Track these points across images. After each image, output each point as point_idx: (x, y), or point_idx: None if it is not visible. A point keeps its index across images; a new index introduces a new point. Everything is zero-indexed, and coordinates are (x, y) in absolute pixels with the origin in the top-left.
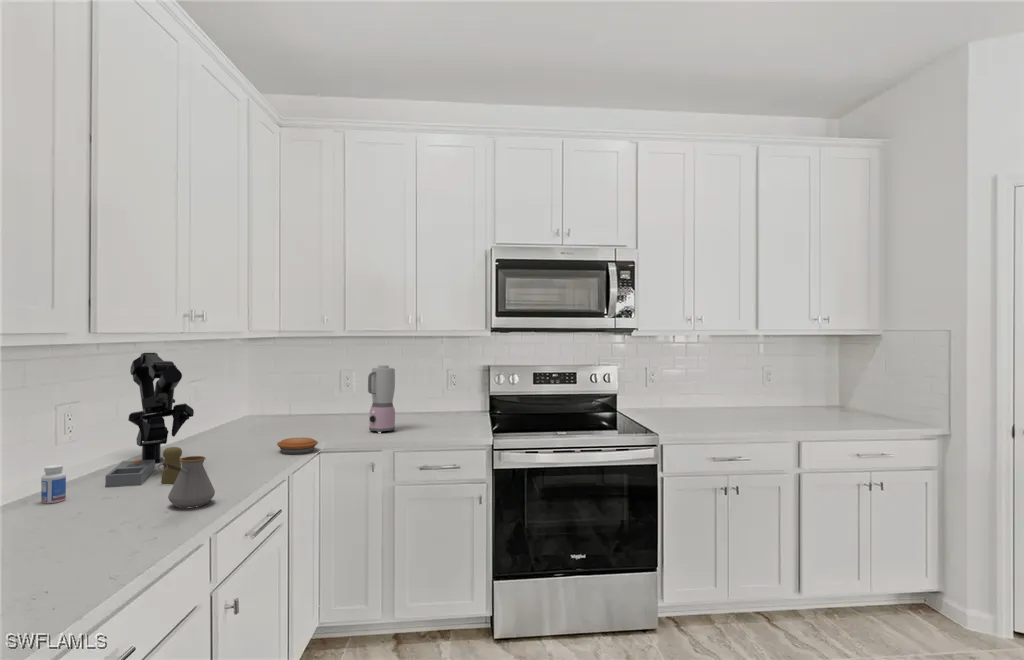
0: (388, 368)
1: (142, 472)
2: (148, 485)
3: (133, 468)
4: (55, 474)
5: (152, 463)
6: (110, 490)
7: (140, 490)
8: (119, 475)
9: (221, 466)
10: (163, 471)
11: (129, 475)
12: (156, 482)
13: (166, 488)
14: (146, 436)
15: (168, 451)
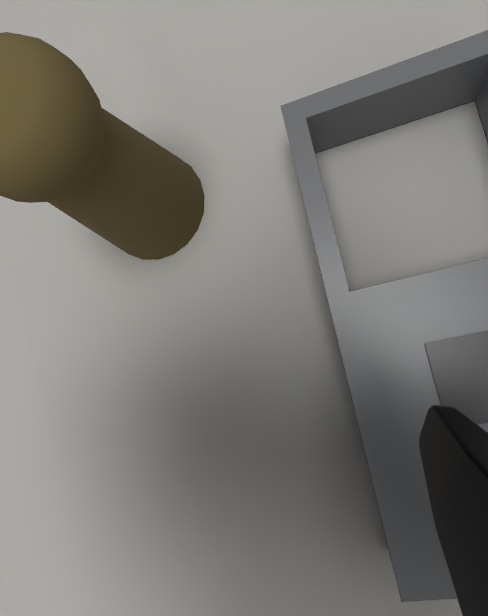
0: None
1: (288, 136)
2: (247, 136)
3: (427, 273)
4: None
5: (374, 490)
6: (411, 12)
7: (243, 34)
8: (421, 58)
9: (23, 577)
10: (151, 141)
11: (354, 83)
12: (232, 202)
13: (134, 86)
14: (453, 522)
15: (9, 33)
